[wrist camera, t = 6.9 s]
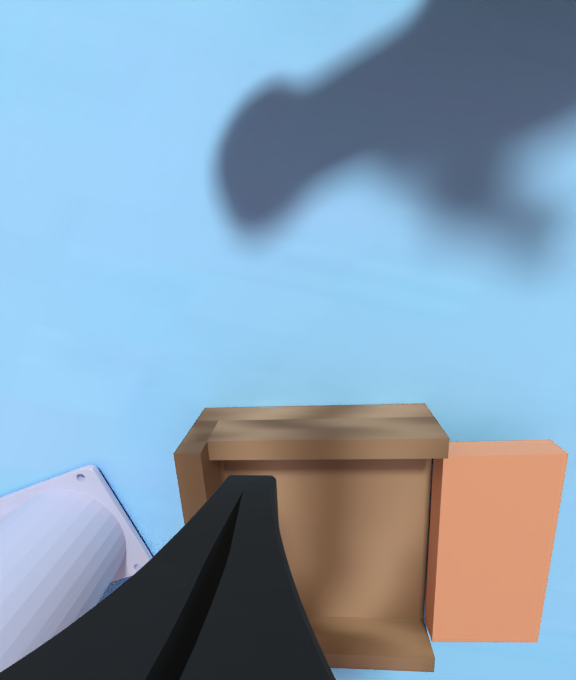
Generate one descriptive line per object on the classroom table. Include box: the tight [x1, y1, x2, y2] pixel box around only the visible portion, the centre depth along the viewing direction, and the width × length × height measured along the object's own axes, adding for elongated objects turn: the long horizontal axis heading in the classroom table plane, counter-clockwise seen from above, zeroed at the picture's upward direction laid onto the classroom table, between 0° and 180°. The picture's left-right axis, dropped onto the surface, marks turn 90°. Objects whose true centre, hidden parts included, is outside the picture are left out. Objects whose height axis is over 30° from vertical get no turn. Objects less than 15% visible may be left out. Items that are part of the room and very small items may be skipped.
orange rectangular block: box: [425, 440, 568, 642], centre depth 18 cm, size 1×11×6 cm
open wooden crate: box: [174, 404, 449, 672], centre depth 19 cm, size 12×14×4 cm
